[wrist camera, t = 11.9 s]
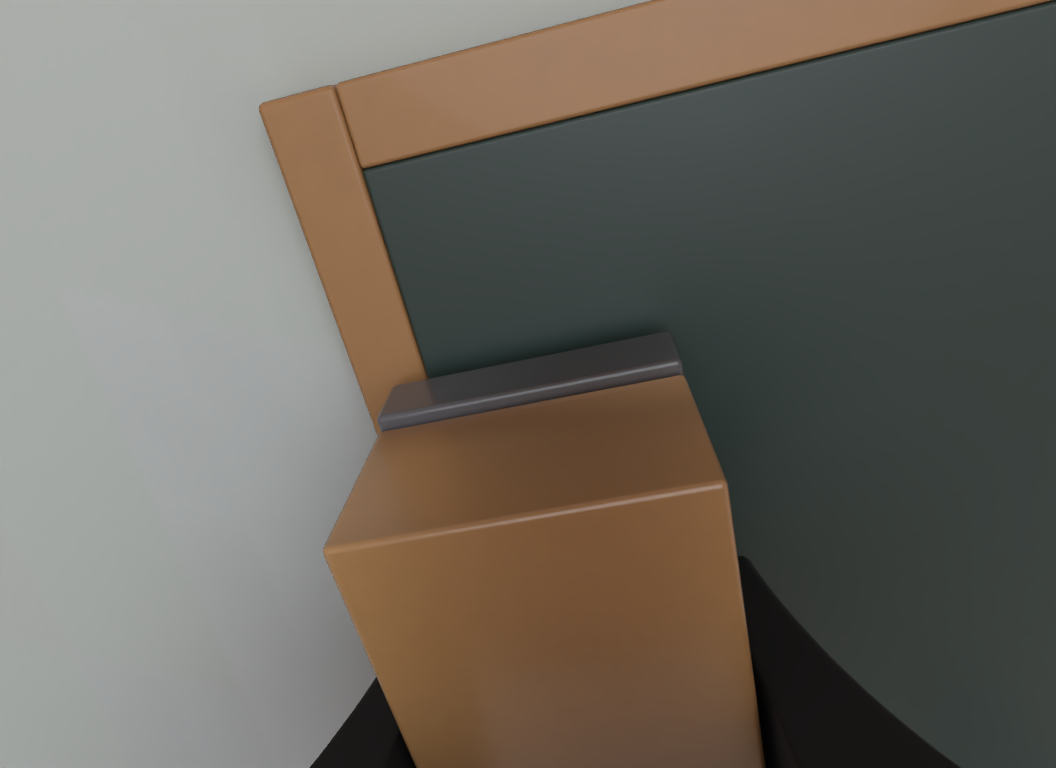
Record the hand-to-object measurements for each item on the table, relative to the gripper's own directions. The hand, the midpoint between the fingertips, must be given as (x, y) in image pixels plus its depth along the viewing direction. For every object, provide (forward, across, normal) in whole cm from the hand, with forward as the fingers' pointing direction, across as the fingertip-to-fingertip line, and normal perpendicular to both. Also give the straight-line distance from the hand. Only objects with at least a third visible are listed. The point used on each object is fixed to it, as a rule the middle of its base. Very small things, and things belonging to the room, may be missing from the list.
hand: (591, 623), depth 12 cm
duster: (+1, 0, 0) cm, 1 cm away
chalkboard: (+2, -4, 0) cm, 4 cm away
